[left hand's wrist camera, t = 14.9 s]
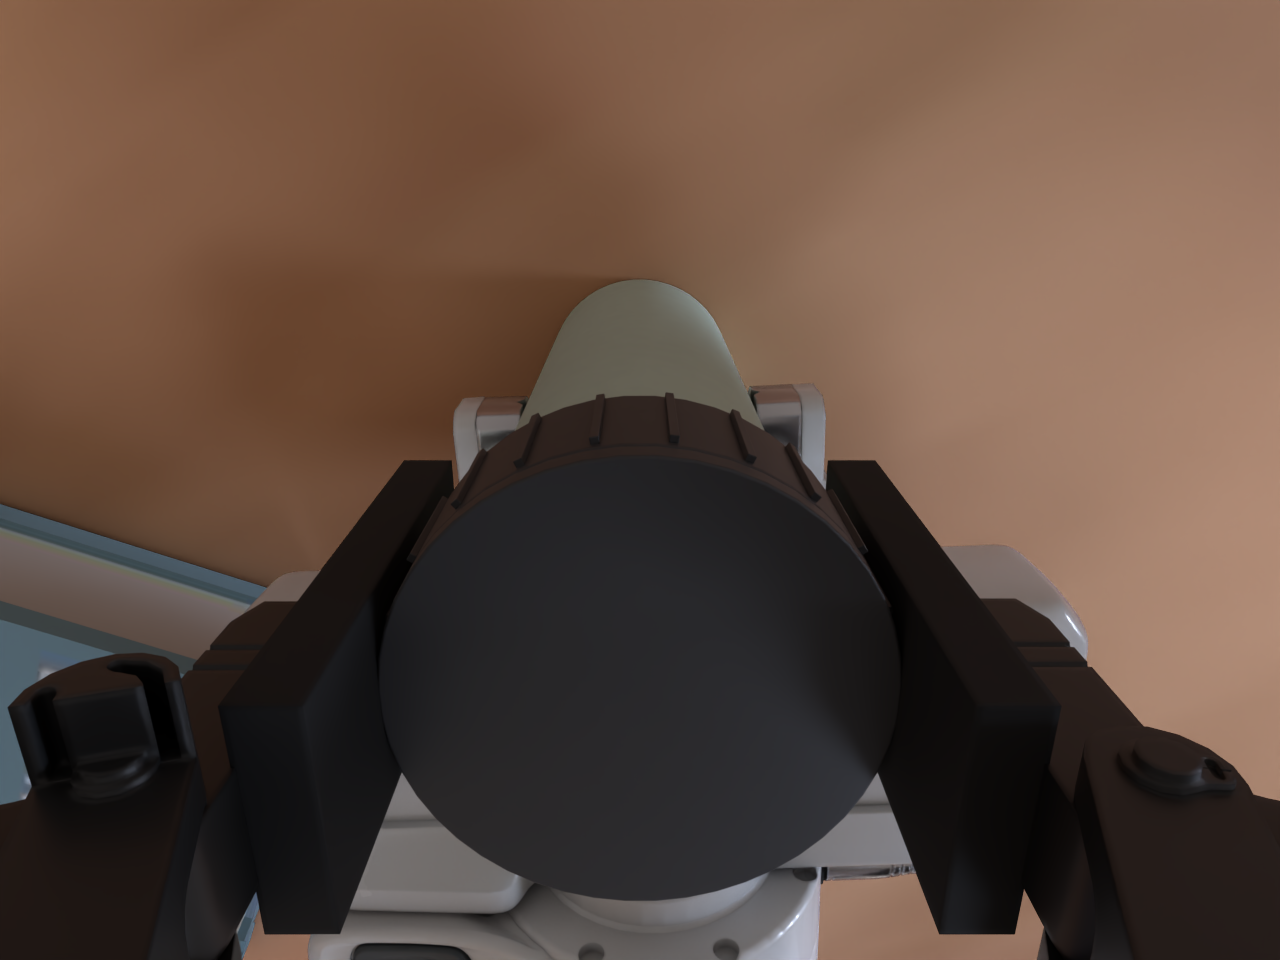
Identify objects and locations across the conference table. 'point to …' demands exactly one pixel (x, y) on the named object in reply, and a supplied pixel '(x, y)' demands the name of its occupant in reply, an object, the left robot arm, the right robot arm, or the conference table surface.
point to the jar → (639, 352)
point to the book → (98, 618)
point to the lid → (639, 653)
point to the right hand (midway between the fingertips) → (635, 396)
